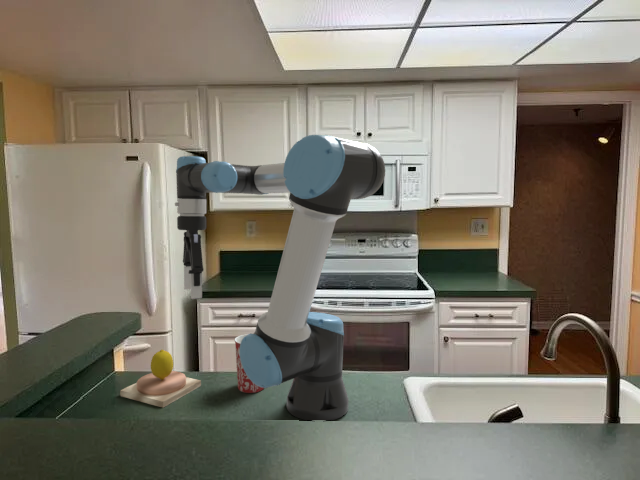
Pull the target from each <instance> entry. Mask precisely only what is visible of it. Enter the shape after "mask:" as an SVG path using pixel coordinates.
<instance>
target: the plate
mask: <svg viewBox="0 0 640 480" xmlns="http://www.w3.org/2000/svg"><path fill="white" fill-rule="evenodd" d="M201 386H202V380H201V379H196V378H191V377H187V376H186V374H185V373H183V372H180V371H176V370H172V372H171V373H170V375H169V376H167V377H165V378H164V379H163V380H161V379H160V378H157V377H155V376H154V375H153V373H152V372H151V373H147V374H145V375H143V376H141V377H140V378H138V379H137V381H136V383H133V384H131V385H128V386H126V387H124V388H122V389H120V392H119V396H120V397H121V398H127V399H130V400H134V401H137V402H141V403H143V404H144V403H145V404H148V405H152V406H155V407H160V408H163V409H164V408H165V407H167V406H169V405H171V404H172V403H174V402H176V401H177V400H179V399H181V398H182V397H184V396H187V394H189V393H191V392H193V391H195V390H196V389H198V388H200V387H201Z"/></svg>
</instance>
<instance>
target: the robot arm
mask: <svg viewBox="0 0 640 480" xmlns="http://www.w3.org/2000/svg"><path fill="white" fill-rule="evenodd" d="M383 158H384V157H382V155H381V153H380V152H379V150H377V149H376V148H375V147H374V146H372V145H370V144H369V143H366V142H362V141H357V140H356V141H355V140H350V139H345V138H342V137H336V136H333V135H328V134H324V135H323V134H310V135H306V136H304V137H302V138H301V139H299V140H298V141H296V142H295V143H294V144H293V145H292V147H291V148H290V150H289V151H288V153H287V155H286V157H285V161H284V162H280V163H271V164H262V165H261V164H258V165H242V164H233V163H229V162H227V161H218V160H213V161H210V162H206V159H205V158H204V157H202V156H192V155H191V156H190V155H187V156H186V155H183V156H179V157H177V159H176V160H177V161H176V169H175V170H176V171H175V173H176V198H177V201H176V202H175V203H174V206H175V207H177V208H176V209H177V212H176V213H177V214H178V217H177V218H176V222H177V226H176V227H177V230H179V231H184V232H183V253H182V254H183V255H182V264H183V289H184V290H190V299H191V300H194V299H195V300H196V299H202V298H203V285H202V284H203V276H202V275H203V272H204V264H203V253H202V235H201V234H199V231H204V230H206V229H207V217H206V216H205V215H206V214H207V193H210V194H211V193H212V194H213V193H215V194H218V193H219V194H244V195H245V194H246V195H247V194H248V195H258V196H259V195H260V196H261V195H269V194H283V193H284V194H287V193H288V194H289V196H288V200H289V202H290V204H291V205H292V207H293V213H292V216H291V220H290V225H289V226H288V227H289V228H288V232H287V235H286V240H285V243H284V247H283V251H282V255H281V258H280V263H279V267H278V270H277V275H276V279H275V282H274V286H273V289H272V293H271V297H270V301H269V305H268V309H267V312H264V313H262V314H261V315H259V317H258V320H257V322H256V326H255V331H254V332H253V333H247V334H248V335H247V336H245V337H244V338H243V339H242V341H241V344H240V360H241V364H242V366H243V369H244V371H245V373H246V375H247V376H248V378H249V379H250V380H251V381H252V382H253V383H254V384H255V385H257V386H259V387H262V388H264V389H266V388H271V387H274V386H280V385H281V384H282V383H283V384H284V383H285V382H289V381H290V380H292V382H291V385H290V388H289V391H288V393H287V396H286V410H287V411H288V412H289V414H291V415H292V416H293V417H295V418H297V419H299V420H303V421H307V420H331V421H334V420H338V419H340V418H342V417H343V415H344V416H345V415H346V414H347V413H348V411H349V402H350V401H349V396H348V393H347V389H346V387H345V383H344V380H343V361H344V359H343V358H344V337H345V333H344V322H343V320H342V319H341V318H340V317H339V316H336V315H333V314H329V313H324V312H319V311H318V312H316V311H311V308H312V305H313V300H314V298H315V294H316V292H317V288H318V284H319V281H320V277H321V274H322V271H323V268H324V263H325V261H326V257H327V253H328V251H329V246H330V243H331V240H332V237H333V232H334V229H335V226H336V222H337V220H339V219H341V218H343V217H345V216H347V212H348V210H349V209H348V208H349V206H350V203H351V200H361V199H365V198H368V197H369V198H370V196H373V195H374V194H375V193H376V192H377V191H378V190H379V189H380V188H381V186H382V184H383V182H384V181H385V176H386V163H385V161H384V159H383Z"/></svg>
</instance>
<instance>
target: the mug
mask: <svg viewBox="0 0 640 480" xmlns="http://www.w3.org/2000/svg"><path fill="white" fill-rule="evenodd" d="M248 334H249V333H246V334H240V335H239V336H236V337H235V338H234V343H235V357H236V358H235V362H236V377H237V389H238V391H240V392H242V393H245V394H255V393H258V392H261V391H263V390H264V389H265V388H262V387H259V386H257V385H255V384H254V383H253V382H252V381H251V380H250V379H249V378H248V376H247V375H246V373H245V371H244V369H243V366H242V364H241V360H240V344H241V341H242V339H243V338H244V337H245V336H247V335H248Z"/></svg>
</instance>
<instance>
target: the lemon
mask: <svg viewBox="0 0 640 480" xmlns="http://www.w3.org/2000/svg"><path fill="white" fill-rule="evenodd" d="M173 369H174V359H173V356H172V354H171V353H170V352H168V351H167V350H164V349H160V350H159V351H157V352H155V353H154V354H153V355H152V357H151V361H150V371H151V373H153V375H154V376H155V377H157V378H160V379H161V380H163V379H164V378H165V377H167V376H169V375H170V373H171V372H172V371H174V370H173Z"/></svg>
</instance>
